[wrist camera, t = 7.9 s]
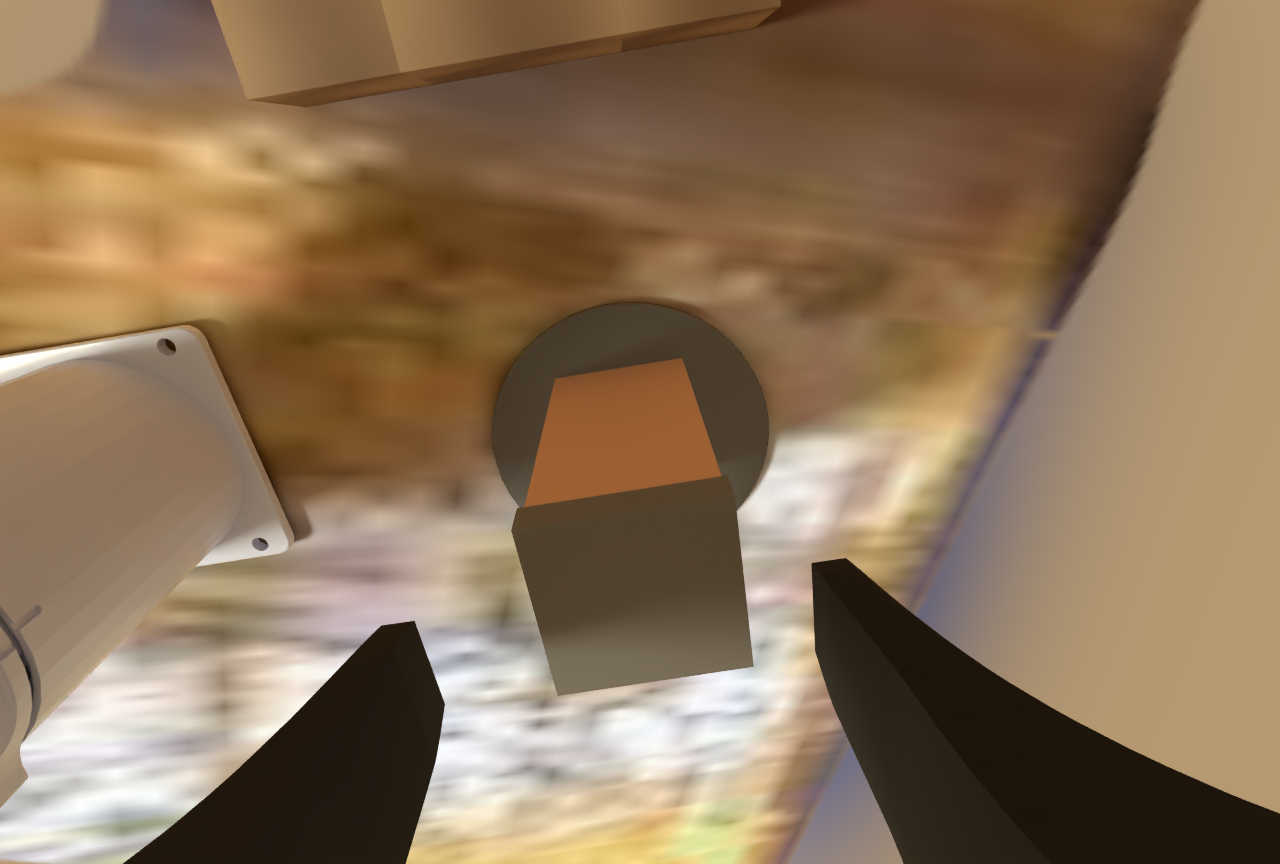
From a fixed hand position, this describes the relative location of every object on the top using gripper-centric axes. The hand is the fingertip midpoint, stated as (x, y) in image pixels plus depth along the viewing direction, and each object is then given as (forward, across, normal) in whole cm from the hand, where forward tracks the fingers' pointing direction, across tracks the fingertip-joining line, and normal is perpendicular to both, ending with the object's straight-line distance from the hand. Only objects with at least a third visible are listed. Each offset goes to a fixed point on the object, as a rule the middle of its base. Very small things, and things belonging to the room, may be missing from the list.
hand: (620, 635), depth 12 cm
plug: (+10, 0, 0) cm, 10 cm away
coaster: (+10, 0, +1) cm, 10 cm away
